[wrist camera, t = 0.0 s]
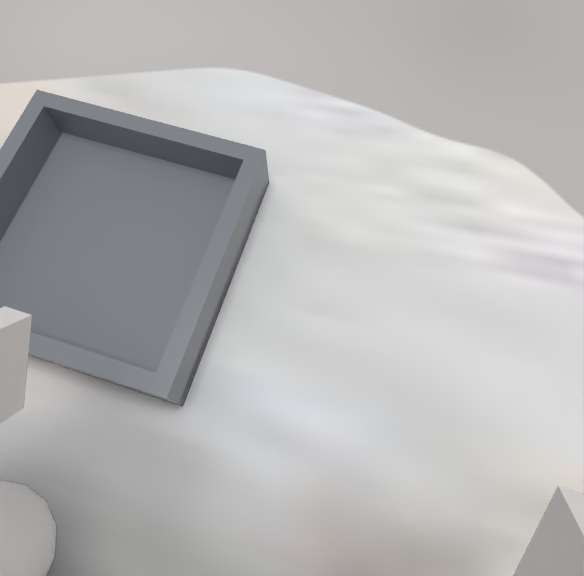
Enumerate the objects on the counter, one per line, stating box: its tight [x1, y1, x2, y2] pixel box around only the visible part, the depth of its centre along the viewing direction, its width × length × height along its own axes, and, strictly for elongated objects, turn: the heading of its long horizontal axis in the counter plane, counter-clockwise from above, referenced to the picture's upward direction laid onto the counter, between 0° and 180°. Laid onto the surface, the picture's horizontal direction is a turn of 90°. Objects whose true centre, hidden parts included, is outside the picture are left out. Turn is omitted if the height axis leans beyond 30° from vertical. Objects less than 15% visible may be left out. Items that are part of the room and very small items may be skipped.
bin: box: [0, 90, 269, 406], centre depth 29 cm, size 15×15×4 cm
